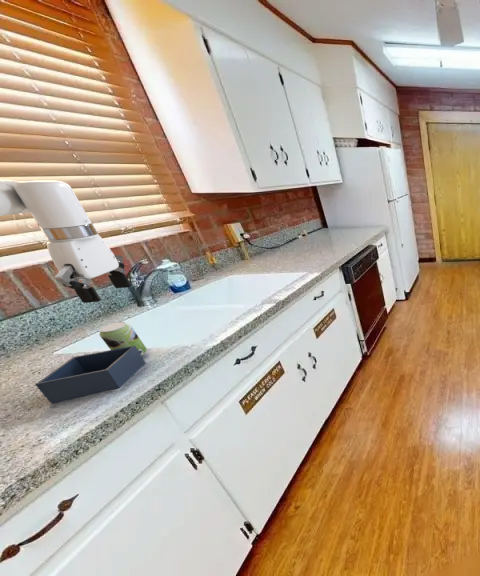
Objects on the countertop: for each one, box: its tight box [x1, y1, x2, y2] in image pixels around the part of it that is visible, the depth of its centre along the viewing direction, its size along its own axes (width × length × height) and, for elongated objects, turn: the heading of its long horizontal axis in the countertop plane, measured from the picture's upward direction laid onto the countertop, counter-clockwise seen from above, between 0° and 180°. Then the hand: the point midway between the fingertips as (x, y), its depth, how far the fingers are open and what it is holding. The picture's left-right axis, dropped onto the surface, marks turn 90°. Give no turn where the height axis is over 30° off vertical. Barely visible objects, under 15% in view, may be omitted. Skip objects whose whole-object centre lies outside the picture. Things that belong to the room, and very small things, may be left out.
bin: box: [34, 346, 147, 405], centre depth 81 cm, size 12×12×7 cm
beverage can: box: [99, 321, 148, 357], centre depth 90 cm, size 6×7×12 cm
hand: (108, 294), depth 80 cm, fingers open, 9 cm apart
